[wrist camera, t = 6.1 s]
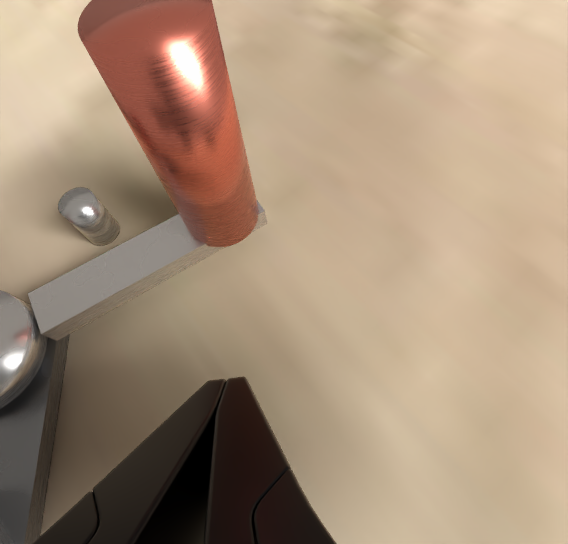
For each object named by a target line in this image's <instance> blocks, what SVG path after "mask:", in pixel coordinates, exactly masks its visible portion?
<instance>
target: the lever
mask: <svg viewBox="0 0 568 544" xmlns="http://www.w3.org/2000/svg"><path fill="white" fill-rule="evenodd" d="M78 33H79V36H80V38H81V41H82V42H83V44H84V46H85V48H86V49H87V51H88V53H89V55H90V57H91V58H92V60H93V62H94V64H95V65H96V67H97V69H98V71H99V73H100V74H101V76H102V78H103V80H104V81H105V83H106V85H107V87H108V89H109V90H110V92H111V94H112V96H113V97H114V99H115V101H116V103H117V105H118V106H119V108H120V110H121V112H122V113H123V115H124V117H125V119H126V121H127V122H128V124H129V126H130V128H131V129H132V131H133V133H134V135H135V137H136V138H137V140H138V142H139V144H140V145H141V147H142V149H143V151H144V153H145V154H146V156H147V158H148V160H149V161H150V163H151V165H152V167H153V169H154V170H155V172H156V174H157V176H158V177H159V179H160V181H161V183H162V185H163V186H164V188H165V190H166V192H167V193H168V195H169V197H170V199H171V201H172V202H173V204H174V206H175V208H176V209H177V211H178V213H179V214H177V215H175V216H174V217H172V218H170V219H168V220H166V221H164V222H162V223H160V224H158V225H156V226H155V227H153V228H151V229H149V230H147V231H145V232H143V233H141V234H139V235H138V236H136V237H134V238H132V239H130V240H128V241H126V242H124V243H122V244H121V245H119V246H117V247H115V248H113V249H111V250H109V251H107V252H105V253H104V254H102V255H100V256H98V257H96V258H94V259H92V260H90V261H88V262H86V263H85V264H83V265H81V266H79V267H77V268H75V269H73V270H71V271H69V272H68V273H66V274H64V275H62V276H60V277H58V278H56V279H54V280H52V281H51V282H49V283H47V284H45V285H43V286H41V287H39V288H37V289H35V290H34V291H32V292H30V293H28V296H29V299H30V302H31V305H32V306H31V305H30V304H28V303H26V302H24V301H22V300H20V299H18V298H16V297H14V296H12V295H10V294H8V293H6V292H4V291H1V290H0V409H1V408H3V407H4V406H6V405H7V404H9V403H10V402H12V401H13V400H14V399H15V398H17V397H18V396H19V395H20V394H21V393H22V392H23V391H24V390H25V389H26V388H27V387H28V386H29V384H30V383H31V382H32V380H33V379H34V377H35V376H36V374H37V373H38V371H39V369H40V367H41V365H42V362H43V360H44V357H45V354H46V349H47V342H48V337H49V338H51V339H54V340H56V341H58V340H60V339H61V338H63V337H65V336H67V335H68V334H70V333H72V332H74V331H76V330H77V329H79V328H81V327H83V326H85V325H86V324H88V323H90V322H92V321H94V320H95V319H97V318H99V317H101V316H103V315H104V314H106V313H108V312H110V311H111V310H113V309H115V308H117V307H119V306H120V305H122V304H124V303H126V302H128V301H129V300H131V299H133V298H135V297H137V296H138V295H140V294H142V293H144V292H146V291H147V290H149V289H151V288H153V287H154V286H156V285H158V284H160V283H162V282H163V281H165V280H167V279H169V278H171V277H172V276H174V275H176V274H178V273H180V272H181V271H183V270H185V269H187V268H189V267H190V266H192V265H194V264H196V263H197V262H199V261H201V260H203V259H205V258H206V257H208V256H210V255H212V254H214V253H215V252H217V251H219V250H221V249H223V248H224V247H226V246H230V245H233V244H236V243H238V242H240V241H241V240H243V239H244V238H246V237H247V236H248V235H249V234H250V233H251V232H253V231H255V230H257V229H258V228H260V227H262V226H264V225H266V224H267V220H266V215H265V211H264V209H263V208H262V206H261V205H260V204H259V202H258V201H257V200H256V196H255V191H254V187H253V182H252V178H251V173H250V169H249V164H248V160H247V156H246V151H245V147H244V142H243V138H242V133H241V129H240V124H239V120H238V116H237V111H236V107H235V102H234V98H233V93H232V89H231V84H230V80H229V75H228V71H227V67H226V62H225V58H224V53H223V49H222V44H221V40H220V35H219V31H218V26H217V22H216V18H215V13H214V9H213V4H212V0H92V1H91V2H90V3H89V4H88V5H87V6H86V7H85V9H84V10H83V12H82V14H81V16H80V18H79V22H78Z"/></svg>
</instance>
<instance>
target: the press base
mask: <svg viewBox="0 0 568 544" xmlns="http://www.w3.org/2000/svg"><path fill="white" fill-rule="evenodd" d="M58 210H59V212H60V213H61V214H62V215H63V216H64V217H65V218H66V219H67V220H68V221H69V222H70V223H71V224H72V225H73V226H74V227H75V228H77V229H78V230H79V231H80V232H81V233H82V234H83V235H84V236H85V237H86V238H87V239H88V240H89V241H90V242H91V243H93V244H94V245H99V246H101V245H106V244H109V243H111V242H112V241H113V240H114V239H115V238H116V237H117V236H118V234H119V231H120V226H119V224H118V222H117V221H116V220H115V219H114V217H113V216H112V215H111V214H110V213H109V212H108V210H107V209H106V208H105V207H104V206H103V204H102V203H101V202H100V201H99V200H98V199H97V197H96V196H95V195H94V194H93V193H92V192H91V191H90V190H89V189H87V188H82V187H80V188H74V189H72V190H70V191H68V192H67V193H65V194H64V195H63V196H62V197H61V199H60V201H59V204H58ZM30 305H31V304H30ZM31 306H32V305H31ZM68 341H69V334H68V335H67V336H65V337H63V338H61V339H60V340H58V341H56V340H54V339H51V338H49V337H48V342H47V349H46V354H45V357H44V360H43V362H42V365H41V367H40V369H39V371H38V373H37V374H36V376H35V377H34V379H33V380H32V382H31V383H30V384H29V386H28V387H27V388H26V389H25V390H24V391H23V392H22V393H21V394H20V395H19V396H18V397H17V398H15V399H14V400H13V401H12V402H10V403H9V404H7V405H6V406H4V407H3V408H1V409H0V544H32V543H33V542H34V541H35V540H37V539H38V538H39V537H40V531H41V524H42V517H43V510H44V504H45V497H46V490H47V483H48V477H49V470H50V463H51V456H52V450H53V443H54V436H55V429H56V422H57V416H58V409H59V402H60V395H61V389H62V382H63V375H64V368H65V362H66V355H67V348H68Z"/></svg>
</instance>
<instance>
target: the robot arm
mask: <svg viewBox="0 0 568 544" xmlns="http://www.w3.org/2000/svg"><path fill="white" fill-rule="evenodd" d="M32 544H336V542H335V541H334V539H333V538H332V537H331V535H330V534H329V532H328V531H327V530H326V528H325V527H324V525H323V524H322V522H321V520H320V519H319V517H318V516H317V514H316V513H315V511H314V510H313V508H312V507H311V505H310V503H309V501H308V500H307V498H306V496H305V494H304V492H303V491H302V489H301V487H300V485H299V483H298V481H297V479H296V477H295V475H294V473H293V471H292V470H291V468H290V466H289V463H288V461H287V459H286V457H285V455H284V453H283V451H282V449H281V447H280V445H279V443H278V441H277V439H276V437H275V435H274V433H273V431H272V429H271V427H270V425H269V423H268V421H267V419H266V417H265V415H264V413H263V411H262V409H261V407H260V405H259V403H258V401H257V399H256V397H255V395H254V393H253V391H252V389H251V387H250V385H249V383H248V381H247V379H246V378H245V377H237V378H230V379H228V380H227V381H226V380H225V379H220V380H211V381H208V382H206V383H205V384H204V385H203V386H202V387H201V388H200V389H199V390H198V391H197V392H196V393H195V394H194V395H192V396H191V397H190V398H189V399H188V400H187V401H186V402H185V403H184V404H183V405H182V406H181V407H180V408H179V409H177V410H176V411H175V412H174V413H173V414H172V415H171V416H170V417H169V418H168V419H167V420H166V421H165V422H164V423H163V424H161V425H160V426H159V427H158V428H157V429H156V430H155V431H154V432H153V433H152V434H151V435H150V436H149V437H148V438H146V439H145V440H144V441H143V442H142V443H141V444H140V445H139V446H138V447H137V448H136V449H135V450H134V451H133V452H132V453H130V454H129V455H128V456H127V457H126V458H125V459H124V460H123V461H122V462H121V463H120V464H119V465H118V466H117V467H116V468H114V469H113V470H112V471H111V472H110V473H109V474H108V475H107V476H106V477H105V478H104V479H103V480H102V481H101V482H99V483H98V484H97V485H96V486H95V487H94V488H93V492H92V491H91V492H89V493H88V494H86V495H85V496H84V497H83V498H82V499H81V500H80V501H79V502H78V503H77V504H76V505H75V506H74V507H73V508H71V509H70V510H69V511H68V512H67V513H66V514H65V515H64V516H63V517H61V518H60V519H59V520H58V521H57V522H56V523H55V524H54V525H53V526H51V527H50V528H49V529H48V530H47V531H46V532H45V533H44V534H43V535H41V536H40V537H39V538H38V539H37V540H35V541H34V542H33V543H32Z"/></svg>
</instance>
